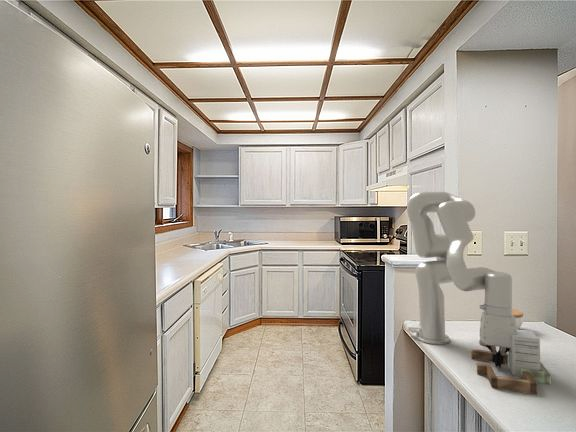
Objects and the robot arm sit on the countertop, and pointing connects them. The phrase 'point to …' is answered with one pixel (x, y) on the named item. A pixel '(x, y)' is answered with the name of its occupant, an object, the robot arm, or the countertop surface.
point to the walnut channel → (483, 355)
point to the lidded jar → (518, 317)
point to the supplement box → (524, 352)
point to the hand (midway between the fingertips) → (497, 364)
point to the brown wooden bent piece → (512, 382)
